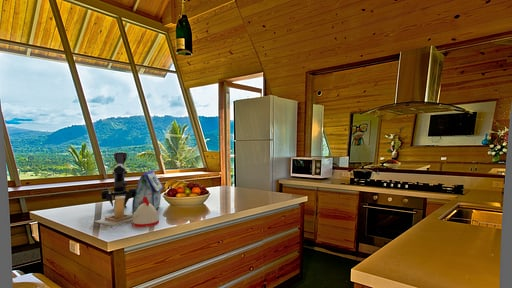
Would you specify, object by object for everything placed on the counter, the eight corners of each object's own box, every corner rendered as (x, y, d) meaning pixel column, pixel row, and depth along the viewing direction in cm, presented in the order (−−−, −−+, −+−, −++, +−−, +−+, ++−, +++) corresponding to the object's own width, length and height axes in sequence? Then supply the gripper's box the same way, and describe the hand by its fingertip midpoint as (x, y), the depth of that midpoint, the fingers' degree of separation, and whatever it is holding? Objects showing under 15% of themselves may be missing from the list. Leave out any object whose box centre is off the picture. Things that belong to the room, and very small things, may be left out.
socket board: (124, 214, 181) (124, 211, 181) (142, 217, 174) (142, 214, 174) (94, 222, 163) (94, 218, 163) (112, 226, 156) (112, 222, 156)
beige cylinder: (116, 217, 171) (118, 195, 172) (125, 217, 171) (127, 196, 172) (111, 219, 166) (113, 196, 167) (121, 219, 166) (122, 197, 166)
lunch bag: (158, 214, 183) (158, 173, 182) (130, 214, 180) (130, 173, 180) (163, 206, 205) (163, 169, 204) (139, 206, 202) (139, 170, 202)
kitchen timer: (153, 218, 171) (153, 194, 171) (162, 223, 161) (162, 197, 161) (129, 223, 162) (129, 196, 162) (137, 228, 152) (137, 200, 152)
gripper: (101, 176, 168) (99, 199, 158) (135, 175, 176) (136, 196, 166) (102, 188, 175) (101, 210, 165) (135, 186, 183) (135, 207, 173)
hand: (118, 205), depth 167 cm, fingers open, 6 cm apart
